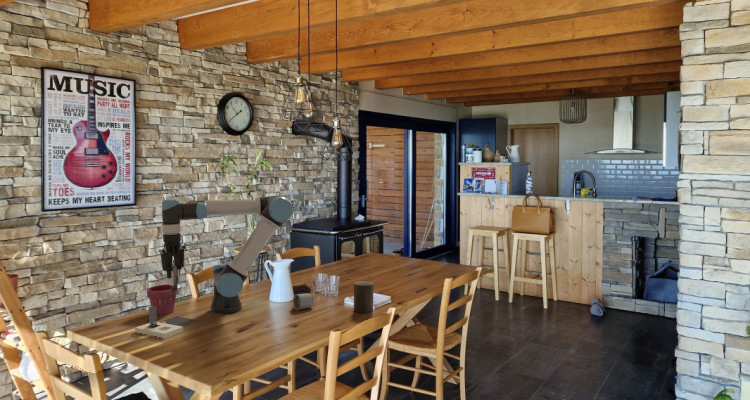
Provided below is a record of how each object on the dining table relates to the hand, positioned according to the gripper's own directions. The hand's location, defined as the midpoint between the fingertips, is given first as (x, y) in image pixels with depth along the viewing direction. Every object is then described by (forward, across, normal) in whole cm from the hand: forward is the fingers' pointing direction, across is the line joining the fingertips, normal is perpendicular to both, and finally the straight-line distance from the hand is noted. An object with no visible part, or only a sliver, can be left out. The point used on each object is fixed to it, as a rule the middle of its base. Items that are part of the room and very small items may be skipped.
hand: (174, 284), depth 242 cm
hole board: (+18, +13, +4) cm, 23 cm away
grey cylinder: (+19, -46, +38) cm, 63 cm away
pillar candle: (+19, -55, +69) cm, 90 cm away
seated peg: (+18, +13, +1) cm, 22 cm away
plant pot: (+19, -9, -18) cm, 27 cm away
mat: (+18, 0, 0) cm, 18 cm away
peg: (+3, 0, 0) cm, 3 cm away
